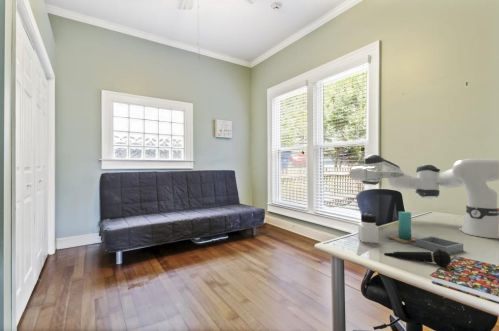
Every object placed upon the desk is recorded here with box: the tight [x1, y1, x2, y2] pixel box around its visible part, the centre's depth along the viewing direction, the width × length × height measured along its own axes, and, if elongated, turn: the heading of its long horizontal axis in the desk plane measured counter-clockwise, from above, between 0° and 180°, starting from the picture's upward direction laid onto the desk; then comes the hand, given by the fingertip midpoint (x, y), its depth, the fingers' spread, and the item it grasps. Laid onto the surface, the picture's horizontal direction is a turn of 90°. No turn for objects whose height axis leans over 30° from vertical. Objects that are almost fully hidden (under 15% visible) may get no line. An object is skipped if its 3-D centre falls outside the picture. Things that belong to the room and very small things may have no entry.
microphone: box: [383, 249, 452, 267], centre depth 88 cm, size 6×6×20 cm
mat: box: [388, 235, 419, 245], centre depth 113 cm, size 12×8×1 cm, turn 114°
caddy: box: [414, 236, 464, 255], centre depth 102 cm, size 12×12×3 cm
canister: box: [398, 211, 412, 240], centre depth 114 cm, size 5×5×12 cm
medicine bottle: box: [357, 213, 380, 244], centre depth 112 cm, size 7×7×12 cm
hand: (397, 175), depth 127 cm, fingers open, 8 cm apart
